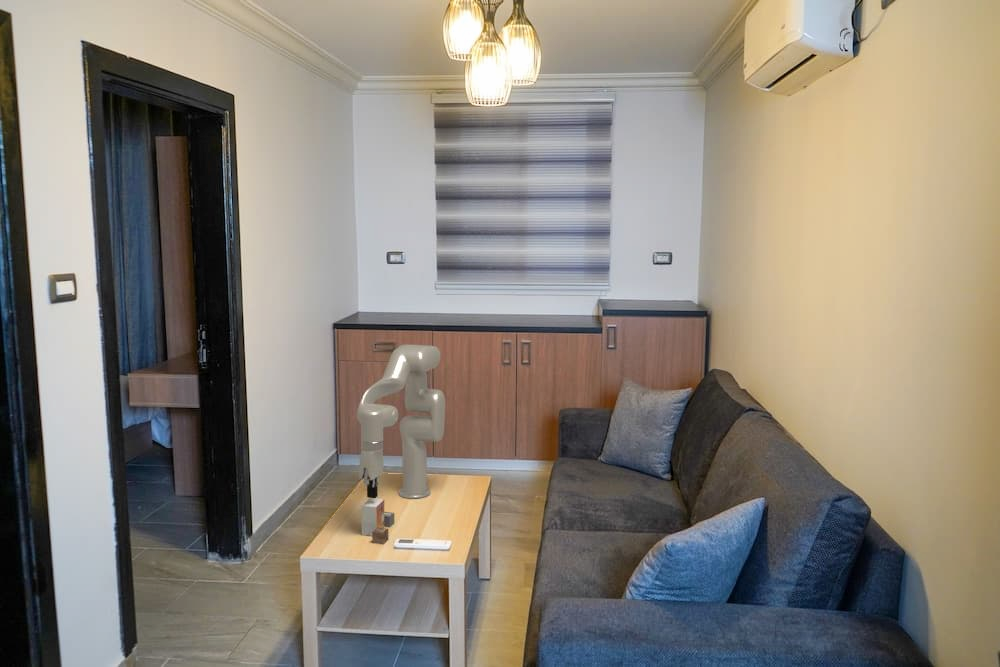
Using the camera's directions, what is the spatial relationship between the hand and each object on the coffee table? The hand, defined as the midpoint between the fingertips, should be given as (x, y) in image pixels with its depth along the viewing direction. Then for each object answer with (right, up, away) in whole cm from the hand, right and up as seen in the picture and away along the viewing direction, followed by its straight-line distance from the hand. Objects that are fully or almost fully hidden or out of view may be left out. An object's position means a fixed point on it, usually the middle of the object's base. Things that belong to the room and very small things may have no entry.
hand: (372, 497), depth 257 cm
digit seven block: (+4, -14, -6) cm, 15 cm away
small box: (0, -13, +2) cm, 13 cm away
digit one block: (+4, -12, +8) cm, 15 cm away
